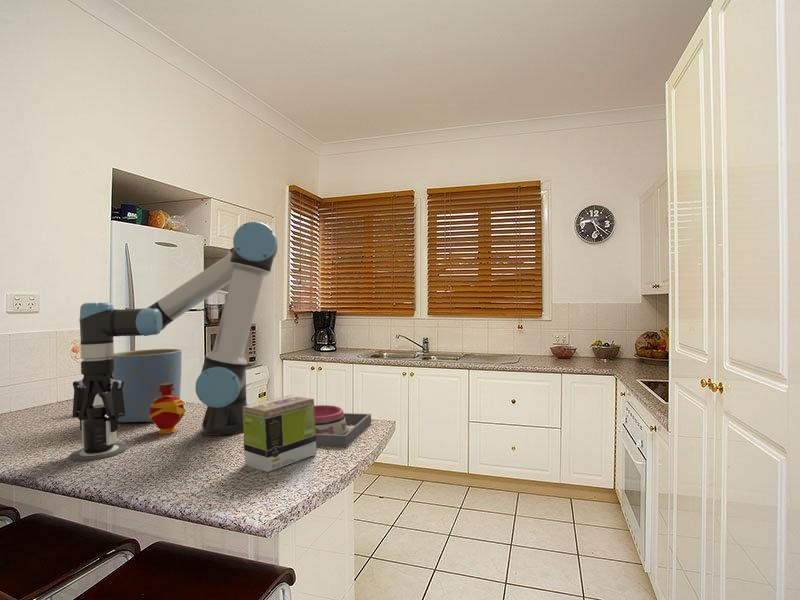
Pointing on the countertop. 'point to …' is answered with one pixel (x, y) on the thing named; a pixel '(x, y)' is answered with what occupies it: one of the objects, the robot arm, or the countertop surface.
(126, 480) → the countertop surface
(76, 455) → the plate
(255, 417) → the tea box
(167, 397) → the potion bottle
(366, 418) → the bowl mat frame
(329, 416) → the dog bowl
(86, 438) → the supplement bottle
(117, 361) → the planter
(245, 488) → the countertop surface
